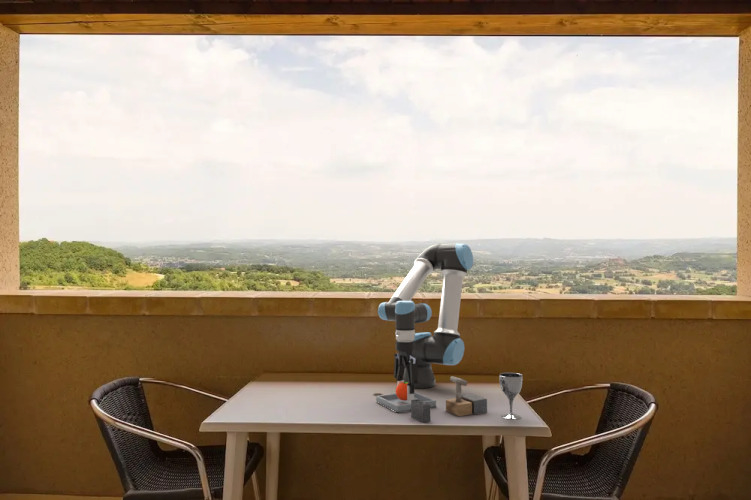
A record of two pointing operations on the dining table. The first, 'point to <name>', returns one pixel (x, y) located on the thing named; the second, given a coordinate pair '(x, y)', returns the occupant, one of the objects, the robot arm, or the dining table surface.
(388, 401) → the tray
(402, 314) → the robot arm
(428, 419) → the frame
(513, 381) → the wine glass
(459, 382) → the slider
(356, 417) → the dining table surface
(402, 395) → the clementine
